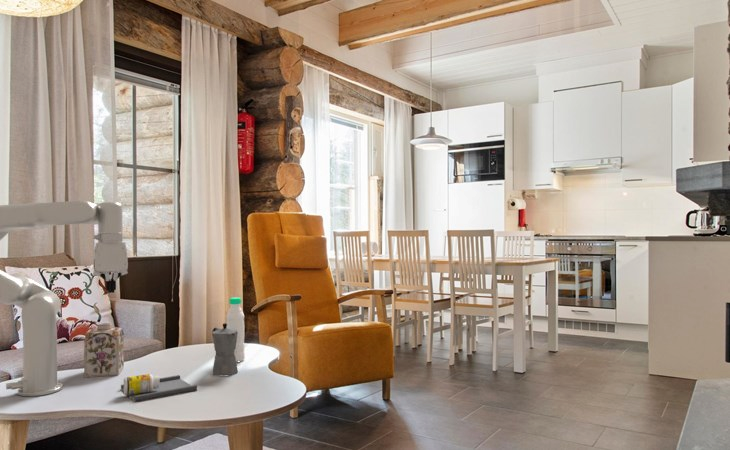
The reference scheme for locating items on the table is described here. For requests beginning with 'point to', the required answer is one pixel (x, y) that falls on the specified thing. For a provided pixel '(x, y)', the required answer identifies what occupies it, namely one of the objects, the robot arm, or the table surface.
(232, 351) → the coffeepot
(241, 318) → the water bottle
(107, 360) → the decorative jar
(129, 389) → the supplement bottle
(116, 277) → the robot arm
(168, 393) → the mat
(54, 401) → the table surface
